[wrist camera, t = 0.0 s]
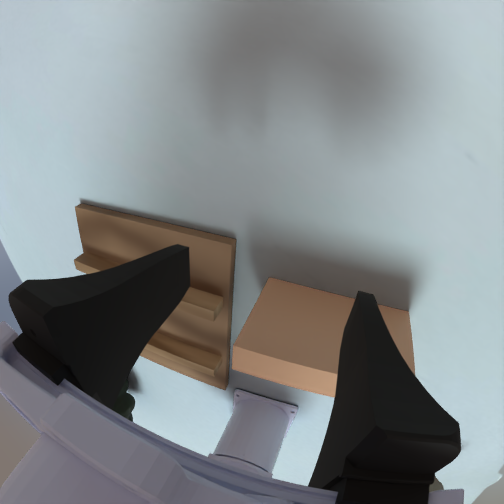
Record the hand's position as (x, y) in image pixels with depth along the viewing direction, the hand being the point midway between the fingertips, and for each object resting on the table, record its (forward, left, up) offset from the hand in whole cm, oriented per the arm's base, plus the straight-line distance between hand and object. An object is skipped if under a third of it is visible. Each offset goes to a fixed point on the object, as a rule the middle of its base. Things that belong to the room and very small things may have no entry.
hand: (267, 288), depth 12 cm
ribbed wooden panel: (-14, +14, -10) cm, 22 cm away
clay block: (-8, -4, -10) cm, 14 cm away
